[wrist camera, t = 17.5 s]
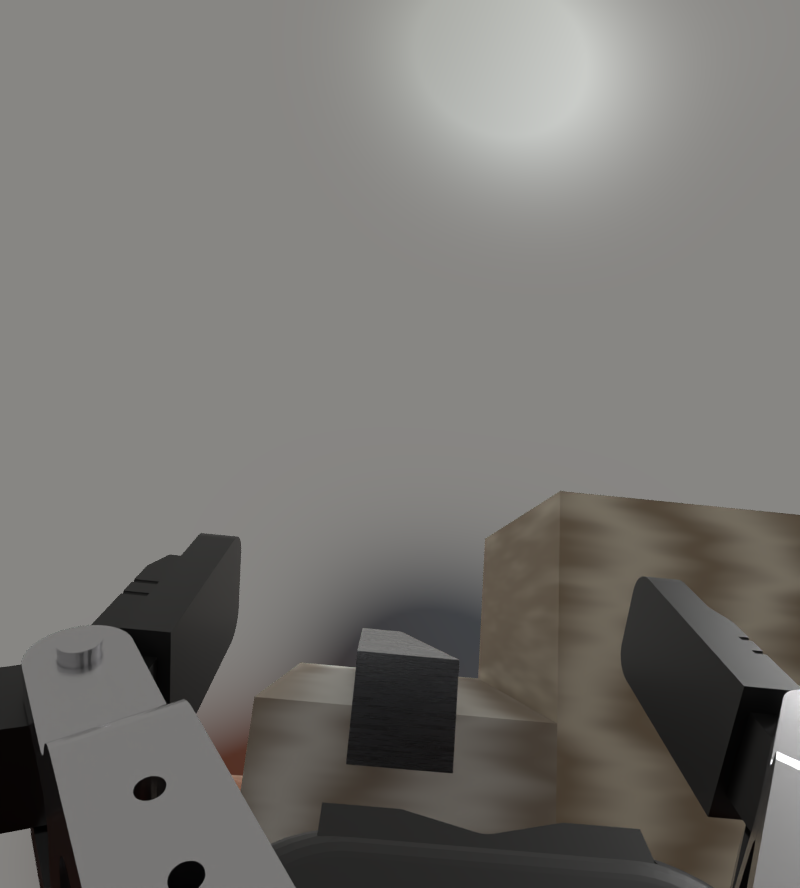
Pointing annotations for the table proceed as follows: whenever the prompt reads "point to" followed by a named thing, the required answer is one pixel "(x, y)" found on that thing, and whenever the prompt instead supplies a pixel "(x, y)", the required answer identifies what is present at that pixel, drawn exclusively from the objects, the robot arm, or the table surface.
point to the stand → (551, 685)
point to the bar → (403, 704)
